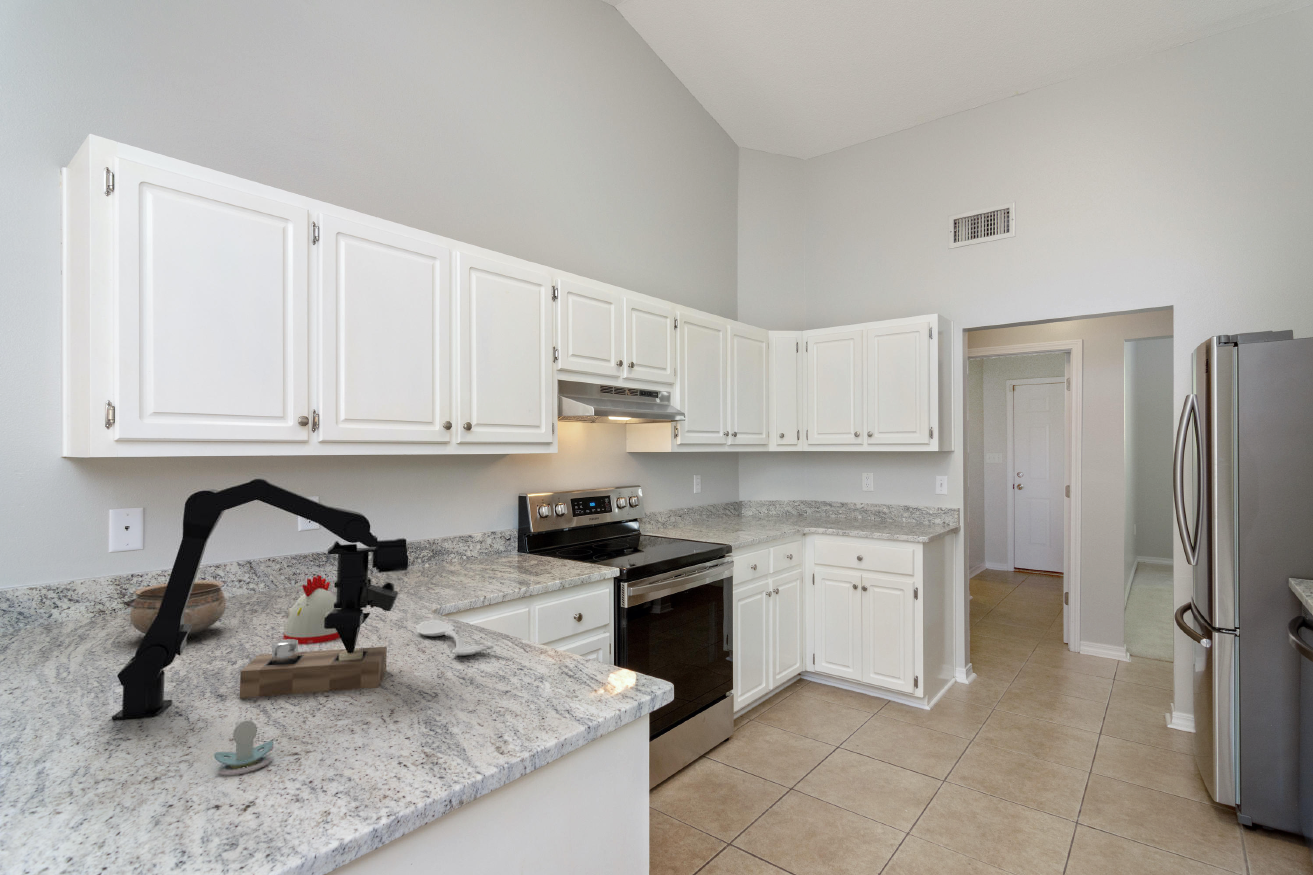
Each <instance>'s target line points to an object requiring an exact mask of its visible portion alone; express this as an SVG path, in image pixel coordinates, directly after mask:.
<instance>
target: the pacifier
mask: <svg viewBox="0 0 1313 875" xmlns="http://www.w3.org/2000/svg"><path fill="white" fill-rule="evenodd" d="M257 733H258V727H257V725H256V723H255V722H254V721H251V720H243V721H241V722H239V723H238V724H237V725H236V726H235V727H234V730H233V733H232V738H233V741H234V743H235V752H231V751H230V752H229V751H220V752H218V751H217V752H215V753H214V754H213V755H214V756H213V757H214V759H215V760H216V761H217V763H219V764H223V766H222V767H220V768H219V769H218V770H217V773H218V775H221V776H226V777H227V776H229V777H230V776H238V775H242V774H243V775H244V774H248V773H252V772H254V771H257V770H259V769H263V767H265V766H267V765H269V764H270V763H271V758H270V757H268V756H265V755H267V754H268V753H269V752H270V751H271V750H272V748H273V747H274V741H273V740H269V741H266V742H263V743H261V744H259V745H257V746H255V747H254V740H255V738H256V737H257V735H258V734H257ZM259 761H262V762H259ZM257 762H258V763H257ZM255 763H257V764H255ZM253 764H255V765H253ZM251 765H252V766H251ZM247 766H249V767H247ZM243 767H246V768H243ZM230 768H231V769H230ZM238 768H241V769H238Z"/></svg>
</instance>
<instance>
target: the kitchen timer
mask: <svg viewBox="0 0 1313 875" xmlns="http://www.w3.org/2000/svg"><path fill="white" fill-rule="evenodd" d="M330 585H331V582H328V581H327V579H326V578H322V575H319V574H318V575H317V576H312V579H311V578H307V579H306V584H302V589H303V592H304V594H302V595H301V596H300V597H299V598H298V599H297V600H296V601H295V603H294V604H293V606H292V607H290V608H289V609H288V610H287V614H286V618H287V619H286V622H285V625H284V628H283V629H284V630H283V639H282V640H286V639H295V640H298V645H310V644H319V643H326V642H330V641H335V640H338V639H341V638H340V636H339V634H338V633H337V631H336V629H335V628H334V629H325V628H324V618H325V617H326V616H327V615H328V614H329V613H330V612H332V611H333V610H334V603H335V602H336V598H337V597H336V596H335V595H334V594H332V593H331V592H329V587H330ZM336 609H341V608H336Z"/></svg>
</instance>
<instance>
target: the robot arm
mask: <svg viewBox="0 0 1313 875" xmlns="http://www.w3.org/2000/svg"><path fill="white" fill-rule="evenodd" d="M254 501H260V502H261V503H265V504H267V505H270V506H273V507H275V508H278V509H280V510H283V511H285V512H288V513H290V514H293V515H296V516H298V517H301V518H302V519H305V520H309V521H311V522H313V523H316V524H318V525H320V526H321V527H323V528H324V529H326V530H327V531H329V532H330V533H332V534H333V535H335V536H337V537H339V538H340V539H342V540H344V541H345V542H347V543H349V544H341V543H340V542H339V541H338V540H335V541H334V543H333V544H332V546H330V547H329V548H327V550H326V551H327V554H328V555H337V561H336V562H337V566H336V568H337V569H336V570H337V571H336V580H335V582H334V588H336V597H335V598H336V602H335V603H334V610H333V611H332V612H330V613H329V614H328V615H327V616H326V617H325V618H324V628H325V629H334V628H335V629H336V631H337V633H338V634H339V636H340V638H339V639H340V640H341V642H342V644H343V646H344V649H346V651H347V652H348V653H353V652H354V650H355V649H356V646H357V642H358V638H359V634H360V629H361V626H362V625H363V624H364V623H365V622H366V620H367V618H368V617H369V616H370V615H371V612H364V608H365V609H367V607H368V606H369V607H370V609H371V608H373V609H374V608H375V607H376V608H378V609H381V610H383V611H385V612H390V611H392V609H393V608H394V605H395V603H396V600H397V597H398V595H399V592H398V590H395V584H394V583H392V582H389V581H386V582H385V583H384V584H383V585H382V586H381V585H375V584H372V578H371V576H369V559H370V558H369V556H370V555H369V554H370V553H371V569H375V570H376V571H377V573H378V574H380V573H381V574H382V573H395V572H406V571H408V568H409V555H408V547H407V539H406V538H405V537H404V538H403V537H401V538H395V539H383V540H378V538H379V537H377V535H373V533H372V532H371V523H370V521H369V519H368V518H367V517H366V516H365V515H364V514H363V513H361V512H358V511H353V510H349V509H345V508H339V507H334V506H329V505H326V504H323V503H320V502H318V501H316V500H313V499H310V498H308V497H306V496H303V495H301V494H298V493H296V492H293V491H291V490H289V489H287V488H284V487H281V486H279V485H276V484H274V483H271V482H269V481H268V480H267V479H265V478H261V477H259V478H258V477H256V478H255V479H251V480H250V481H248V482H244V483H241V484H237V485H234V486H230V487H227V488H225V489H221V490H218V489H215V488H205V489H201V490H198V491H197V492H194V493H192V494H191V495H189V496H188V498H187V499H186V501H185V503H184V507H183V508H184V509H183V518H182V539H181V542H180V545H179V548H178V551H177V554H176V558H175V559H174V563H173V566H172V570H171V572H170V574H169V579H168V581H167V583H168V584H167V587H166V590H165V593H164V596H163V599H162V602H161V605H160V608H159V611H158V614H157V616H156V618H155V619H154V621H153V623H152V624H151V626H150V628H149V629H148V631H147V633H146V634H145V635H144V636H143V638H142V640H141V641H140V643H139V645H138V647H137V649H136V651H135V653H134V656H133V657H132V658H130V659H129V661H128V662H127V663H126V664H125V665H124V667H123V668H122V669H121V670H120V671H119V672H118V673H117V678H118V682H119V684H120V685H121V686H122V700H121V701H122V705H121V709H120V710H119V711H117V712H116V713H115V714H113V715H112V716H111V720H125V719H137V718H148V717H149V718H150V717H156V716H157V715H159V713H161V712H163V711H164V710H165V709H166V708H168V706H170V705H171V704H173V699H165V675H166V674H165V673H166V672H165V670H164V669H165V668H167V667H168V666H170V665H171V664H172V663H173V661H175V658H176V657H177V655H178V656H181V655H182V653H183V652H184V649H185V648H186V647H187V645H188V643H187V639H186V638H187V635H188V633H189V631H190V629H191V627H192V625H193V624H184V613H185V609H186V606H187V603H188V600H189V597H190V594H191V591H192V588H193V585H194V582H195V581H196V577H197V575H198V571H199V569H200V566H201V563H202V560H203V556H204V554H205V550H206V547H207V545H208V541H209V539H210V538H211V536H212V534H213V532H214V530H215V529H216V527H217V525H218V524H219V522H220V520H221V519H222V517H223V515H224V513H225V511H227V510H230V509H233V508H236V507H239V506H242V505H245V504H248V503H251V502H254ZM356 543H360V544H362V545H363V546H365V547H358V545H357V544H356ZM336 608H341V609H336Z"/></svg>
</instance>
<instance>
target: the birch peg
mask: <svg viewBox="0 0 1313 875" xmlns="http://www.w3.org/2000/svg"><path fill="white" fill-rule="evenodd" d="M362 658H363V650H361V649H356V648H355V650H354V652H353V653H348V652H347V651H346V650H344V651H341V652H340V653H339V660H354V659H362Z"/></svg>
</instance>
